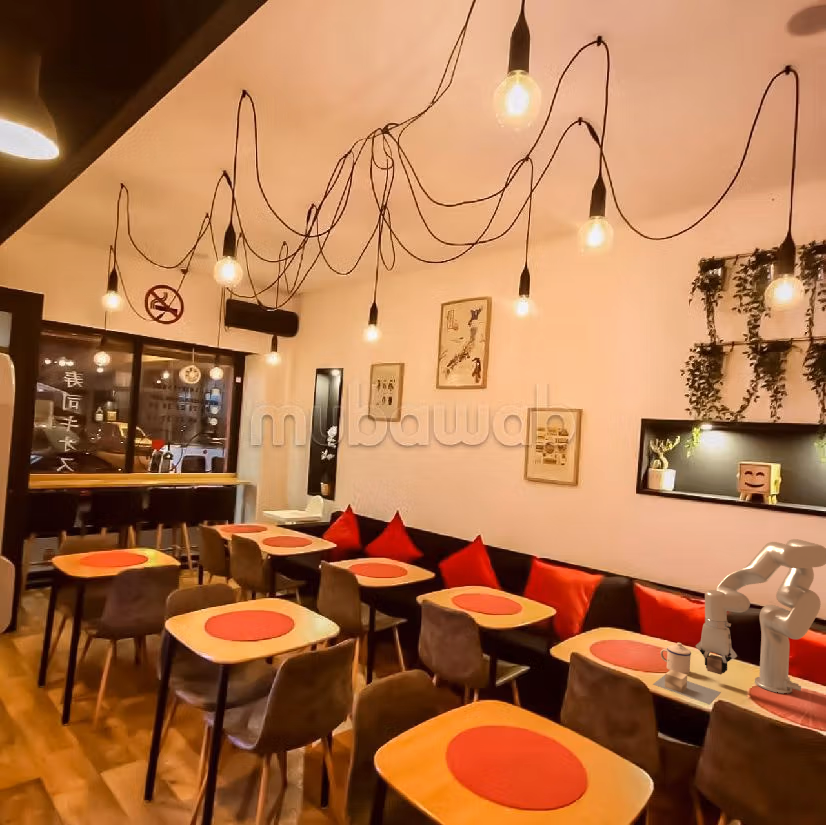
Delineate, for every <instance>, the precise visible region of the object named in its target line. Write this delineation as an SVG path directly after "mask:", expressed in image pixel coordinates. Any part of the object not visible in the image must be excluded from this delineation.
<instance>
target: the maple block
mask: <svg viewBox="0 0 826 825" xmlns="http://www.w3.org/2000/svg"><path fill="white" fill-rule="evenodd" d="M664 675H665V687H666V688H669V689H672V690H675V691H678V692H681V693H682V692H683V691H684V690H685V689H686V688H687V681H688V674H683V673H680V672H677V671H674V670H668V671H667V672H666V673H665V674H664Z"/></svg>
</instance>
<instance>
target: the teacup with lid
mask: <svg viewBox="0 0 826 825" xmlns="http://www.w3.org/2000/svg"><path fill="white" fill-rule="evenodd" d="M664 652H666V653H667V654H666V655H667V656H666V658H665V656H664ZM659 653H660V658H661V659H662V660H663V661H664V662H665V663H666V669H667V670H668V671H670V670H674V671H677V672H680V673H683V674H686V675H688V674H690V671H691V670H690V669H691V657H692V656H691V655H692V651H691V650H690V649H689V648H688V647H685V646H684V645H683V644H682V643H681V642H677V643H676V644H670V645H668V646H667V648H663V649H661V650H660V652H659Z"/></svg>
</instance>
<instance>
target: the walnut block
mask: <svg viewBox="0 0 826 825" xmlns="http://www.w3.org/2000/svg"><path fill="white" fill-rule="evenodd" d="M722 662H723V659H722V656H718V655H715V654H709V657H708V658H707V668H706V671H707V672H711V673H713V674H717V675H720V676H721V675H723V673H722Z"/></svg>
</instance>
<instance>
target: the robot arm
mask: <svg viewBox="0 0 826 825" xmlns="http://www.w3.org/2000/svg"><path fill="white" fill-rule="evenodd" d="M825 565H826V547H825V546H823V545H821V544H818V543H815V542H809V541H806V540H802V539H795V538H793V539H789V540H788V541H787V542H786V543H785V544H784V543H781V542H777V541H770V542H768V543H766V544H765V545H764V546H763V547H762V548H761V550H760V551H759V552H758V553H757V554H756V555H755V556H754V557H753V558H752V559H751V561H750V562H749V563H748V564H747V565H746V566H744V567H742V568H740V569H737V570H736V571H734V572H731V573H730V574H728V575H726V576H725V578H723V579H722V580H721V581H720V583H719V584H718V585H717V586H716V588H715V589H710V590H706V591H705V593H704V623H703V625H702V630H701V636H700V637H701V638H700V641H699V642H698V643H697V644H696V645H695V648H696V649H697V650H698V651H699V652H700V654H701V655H702V656H703V658H704V665H705V668H706V669H707V658H708V657H709V656H710V653H713V654H717V655H721V656H720V657H722V659H723V662H722V674H725V673H726V672H727V671H728V662H730V661H731V660H733V659H736V658H737V657H738V654H737V653H736V651H734V649H733V647H732V639H731V630H730V627H731V625H732V623H729V622H728V619H727V615H728V614H727V612H733V613H743V612H744V613H745V612H747V611H748V610H749V608H750V606H751V601H750V599H749V598H748V596H746V595H745V594H744V593H742V592H739V590H740V589H741V588H743V587H746V586H749V585H750V586H751V585H757V584H758V585H759V584H763V583H767V582H768V581H769V580H770V579H771V577H772V576H773V575H774V574H775V573H776V572H777V571H778V569H779V568H780V567H785V568H788V572H787V574H785V577H784V579H783V581H782V582H781V584H780V585H779V587H778V589H777V590H776V594H775V597H776V600H777V602H778V603H779V604H781V605H782V606H784V607H786V608H788V609H790V610H788V609H786V608H784V607H781V606H779V605H773V604H767V605H765V606H763V607H762V608H761V610H760V611H759V612H760V613H759V624H760V631H761V634H760V635H761V636H760V637H761V638H760V639H761V641H760V658H759V659H760V661H759V676H757V677H755V678H754V684H755V685H757V686H759V688H762V689H764V690H766V691H770V692H773V693H777V692H778V694H784V693H787V694H791V693H792V692H793V690H796V691H798V692H801V690H802V686H801V685H799V683H796V682H792V680H791V677H790V676H789V667H790V665H789V662H790V647H791V646H790V645H791V644H790V639H792V640H800V639H802V638H803V637H805V635H807V633H808V631H809V629H810V628H811V627H812V624H813V622H814V621H815V619H816V617H817V615H818V614H819V613H820V609H821V599H820V597H819V595H818V594H817V593H816V592H815V591H814V590H811V589H810V588H811V586H812V584H813V582H814V578H815V573H814V568H821V567H823V566H825ZM729 654H730V655H729ZM728 655H729V656H728Z"/></svg>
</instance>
